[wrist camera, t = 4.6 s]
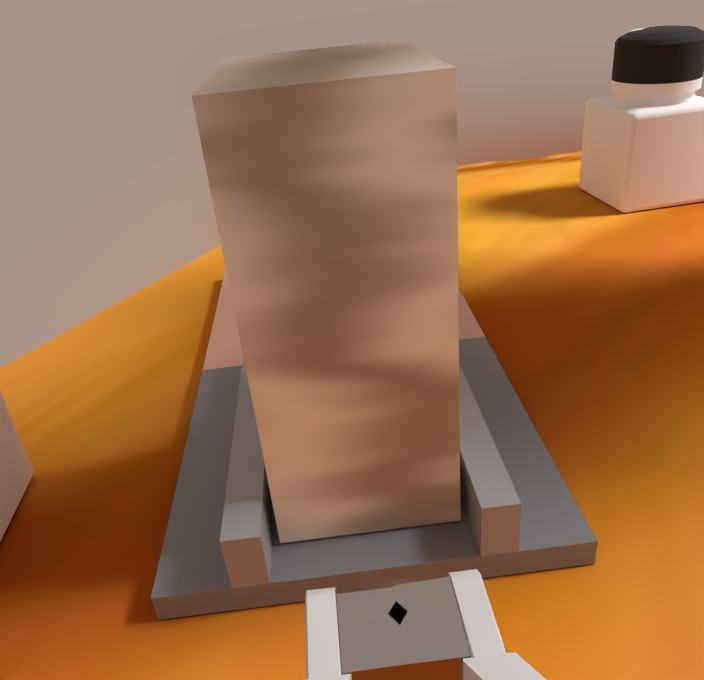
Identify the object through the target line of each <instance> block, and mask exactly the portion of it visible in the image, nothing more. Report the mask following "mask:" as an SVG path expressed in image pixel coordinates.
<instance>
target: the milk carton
mask: <svg viewBox="0 0 704 680" xmlns="http://www.w3.org/2000/svg"><path fill="white" fill-rule="evenodd" d="M33 473H34V471H33V468H32V465H31V463H30V461H29V458H28V456H27V454H26V451H25V449H24V447H23V444H22V442H21V439H20V437H19V435H18V432H17V430H16V428H15V425H14V423H13V421H12V418H11V416H10V413H9V411H8V409H7V406H6V404H5V402H4V399H3V397H2V394H1V392H0V542H1V540H2V537H3V535H4V533H5V531H6V529H7V527H8V525H9V523H10V521H11V519H12V517H13V515H14V513H15V511H16V509H17V507H18V505H19V503H20V501H21V499H22V497H23V494H24V492H25V490H26V488H27V486H28V484H29V482H30V480H31V478H32V476H33Z"/></svg>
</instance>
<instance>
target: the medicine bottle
mask: <svg viewBox="0 0 704 680" xmlns="http://www.w3.org/2000/svg"><path fill="white" fill-rule="evenodd" d="M703 71H704V31H702V30H700V29H698V28H696V27H691V26H657V27H649V28H641V29H635V30H631V31H629V32H627V33H625V34H624V35H622V36H620V37H619V38H618V39H617V41H616V42H615V50H614V61H613V71H612V81H611V91H613V92H615V96H609V97H601V98H595V99H590V100H588V101H587V102H586V107H585V119H584V131H583V144H582V155H581V168H580V180H579V187H580V188H581V189H582V190H584V191H585V192H587V193H589V194H591V195H592V196H594V197H596V198H598V199H599V200H601V201H603V202H605V203H606V204H608V205H610V206H612V207H613V208H615V209H617V210H619V211H620V212H622V213H628V212H634V211H641V210H648V209H655V208H662V207H669V206H675V205H682V204H689V203H696V202H703V201H704V97H700V96H695V90H698V89H700V88H701V84H702V78H703Z"/></svg>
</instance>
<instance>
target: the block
mask: <svg viewBox="0 0 704 680" xmlns="http://www.w3.org/2000/svg"><path fill="white" fill-rule="evenodd" d="M192 100H193V104H194V109H195V114H196V120H197V125H198V130H199V135H200V140H201V145H202V150H203V155H204V160H205V165H206V170H207V175H208V180H209V185H210V191H211V196H212V200H213V206H214V211H215V216H216V221H217V226H218V231H219V236H220V241H221V246H222V251H223V256H224V262H225V267H226V272H227V277H228V282H229V287H230V292H231V297H232V302H233V307H234V312H235V317H236V322H237V327H238V332H239V337H240V342H241V347H242V353H243V358H244V363H245V368H246V373H247V378H248V383H249V388H250V393H251V398H252V403H253V408H254V413H255V418H256V423H257V428H258V433H259V438H260V444H261V449H262V454H263V459H264V464H265V469H266V474H267V479H268V484H269V489H270V494H271V499H272V504H273V509H274V514H275V519H276V524H277V529H278V535H279V540H280V543H286V542H294V541H302V540H310V539H318V538H326V537H334V536H341V535H349V534H357V533H365V532H373V531H381V530H389V529H397V528H405V527H413V526H421V525H428V524H436V523H444V522H452V521H460V520H461V517H460V419H459V322H458V224H457V129H456V67H454V66H452V65H450V64H448V63H447V62H444V61H443V60H441V59H439V58H437V57H435V56H433V55H431V54H429V53H427V52H425V51H424V50H422V49H420V48H418V47H416V46H414V45H412V44H410V43H408V42H407V41H405V40H395V41H385V42H376V43H366V44H357V45H347V46H338V47H328V48H319V49H309V50H300V51H290V52H280V53H271V54H261V55H252V56H242V57H233V58H224V59H223V60H222V61H221V62H220V63H219V64H218V66H217V67H216V68H215V69H214V70H213V72H212V73H211V74H210V75H209V76H208V77H207V78H206V80H205V81H204V82H203V83H202V84H201V85H200V87H199V88H198V89H197V90H196V91H195V92H194V94H193V95H192Z"/></svg>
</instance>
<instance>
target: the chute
mask: <svg viewBox="0 0 704 680" xmlns="http://www.w3.org/2000/svg"><path fill="white" fill-rule="evenodd" d="M458 322H459V419H460V517H461V520H460V521H452V522H444V523H436V524H428V525H421V526H413V527H405V528H397V529H389V530H381V531H373V532H365V533H357V534H349V535H341V536H334V537H326V538H318V539H310V540H302V541H294V542H286V543H280V540H279V535H278V529H277V524H276V519H275V514H274V509H273V504H272V499H271V494H270V489H269V484H268V479H267V474H266V469H265V464H264V459H263V454H262V449H261V444H260V438H259V433H258V428H257V423H256V418H255V413H254V408H253V403H252V398H251V393H250V388H249V383H248V378H247V373H246V368H245V363H244V358H243V353H242V347H241V342H240V337H239V332H238V327H237V322H236V317H235V312H234V307H233V302H232V297H231V292H230V287H229V282H228V277H227V272H226V268H225V273H224V277H223V282H222V286H221V290H220V295H219V299H218V304H217V308H216V312H215V317H214V321H213V326H212V330H211V334H210V339H209V343H208V348H207V352H206V357H205V361H204V365H203V370H202V374H201V379H200V383H199V387H198V392H197V396H196V401H195V405H194V409H193V414H192V418H191V423H190V427H189V431H188V436H187V440H186V445H185V449H184V453H183V458H182V462H181V467H180V471H179V475H178V480H177V484H176V489H175V493H174V497H173V502H172V506H171V511H170V515H169V519H168V524H167V528H166V533H165V537H164V542H163V546H162V550H161V555H160V559H159V564H158V568H157V572H156V577H155V581H154V586H153V590H152V594H151V601H152V604H153V607H154V610H155V613H156V616H157V618H158V620H163V619H170V618H178V617H186V616H194V615H201V614H209V613H217V612H225V611H232V610H240V609H248V608H256V607H263V606H271V605H279V604H287V603H294V602H302V601H305V597H306V590H315V589H324V588H332V587H335V588H336V587H340V586H350V585H360V584H370V583H380V582H389V581H392V580H397V579H404V578H411V577H418V576H425V575H432V574H439V573H446V572H447V573H450V572H458V571H466V570H474V569H477V570H478V571H479V572H480V574H481V577H482V578H488V577H496V576H503V575H511V574H519V573H527V572H534V571H542V570H550V569H558V568H565V567H573V566H581V565H589V564H594V563H595V555H596V548H597V540H596V538H595V536H594V534H593V533H592V531H591V529H590V527H589V525H588V523H587V522H586V520H585V518H584V516H583V514H582V512H581V511H580V509H579V507H578V505H577V503H576V501H575V500H574V498H573V496H572V494H571V492H570V490H569V489H568V487H567V485H566V483H565V481H564V479H563V478H562V476H561V474H560V472H559V470H558V468H557V467H556V465H555V463H554V461H553V459H552V457H551V456H550V454H549V452H548V450H547V448H546V447H545V445H544V443H543V441H542V439H541V437H540V436H539V434H538V432H537V430H536V428H535V426H534V425H533V423H532V421H531V419H530V417H529V415H528V414H527V412H526V410H525V408H524V406H523V404H522V403H521V401H520V399H519V397H518V395H517V393H516V392H515V390H514V388H513V386H512V384H511V382H510V381H509V379H508V377H507V375H506V373H505V372H504V370H503V368H502V366H501V364H500V362H499V361H498V359H497V357H496V355H495V353H494V351H493V350H492V348H491V346H490V344H489V342H488V340H487V339H486V337H485V335H484V333H483V331H482V329H481V328H480V326H479V324H478V322H477V320H476V318H475V317H474V315H473V313H472V311H471V309H470V307H469V306H468V304H467V302H466V300H465V298H464V296H463V295H462V293H461V291H460V289H459V287H458Z"/></svg>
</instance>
